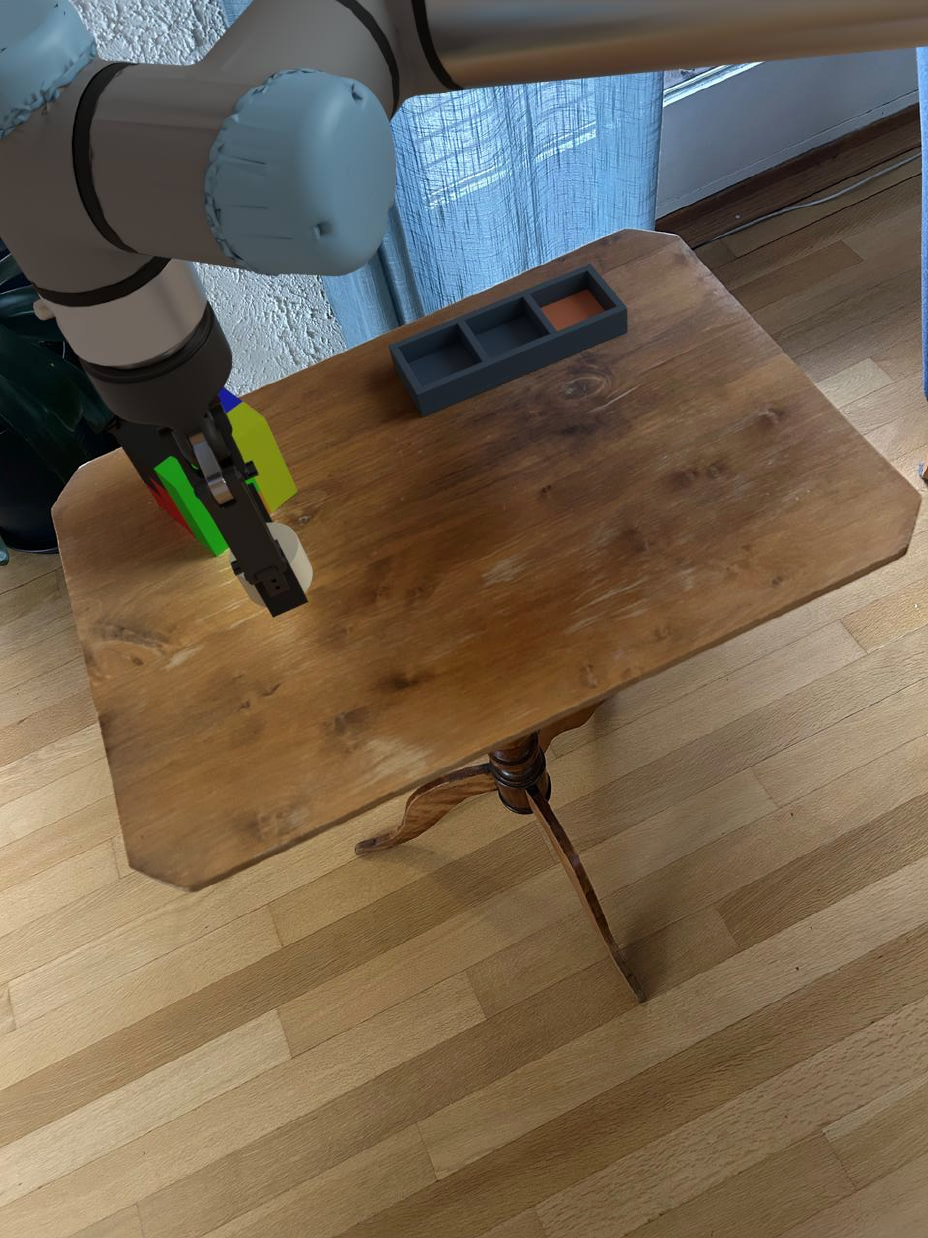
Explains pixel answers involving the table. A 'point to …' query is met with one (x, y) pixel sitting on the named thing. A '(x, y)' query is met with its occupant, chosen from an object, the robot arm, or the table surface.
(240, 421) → the puzzle toy
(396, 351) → the grid
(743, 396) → the table surface
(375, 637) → the table surface
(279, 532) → the cylinder
